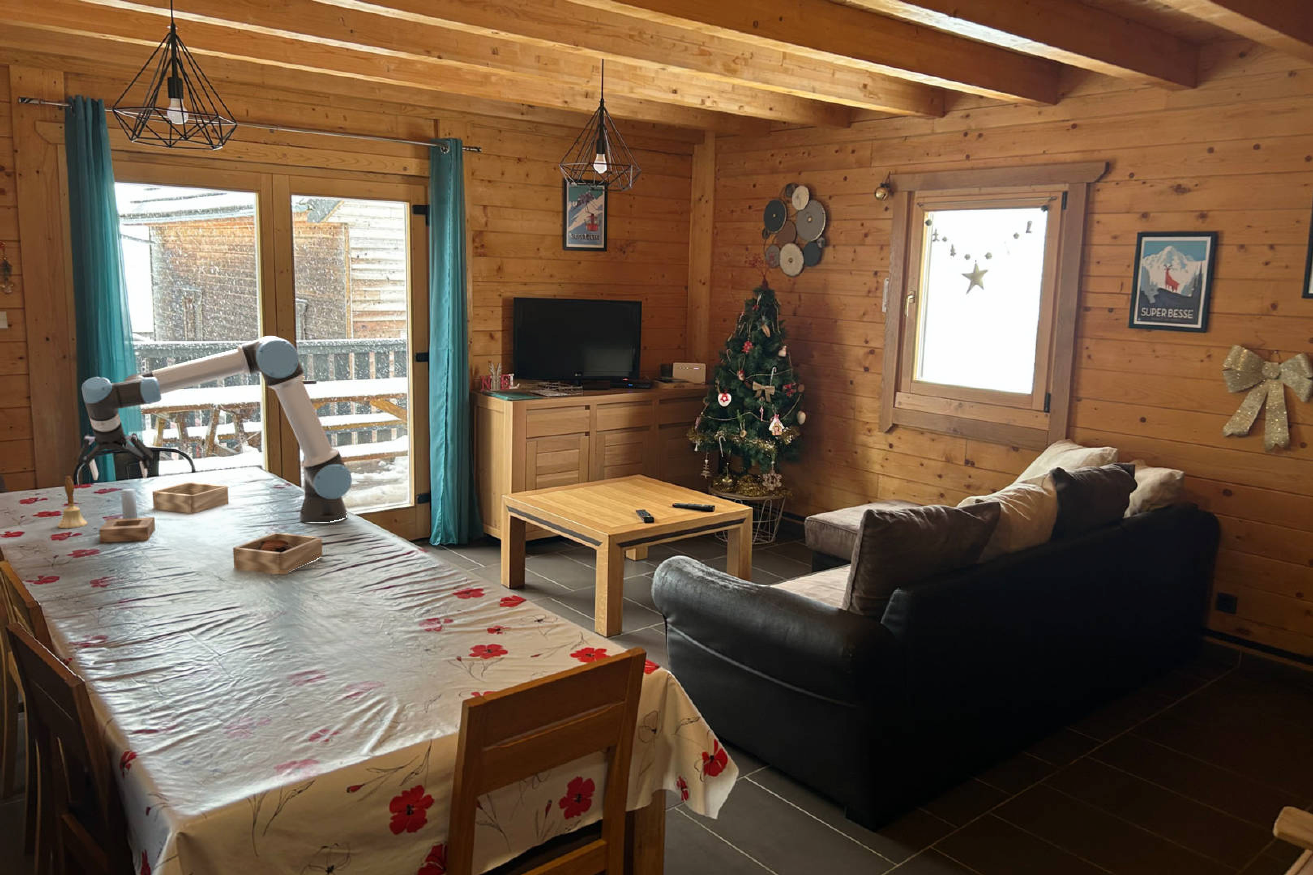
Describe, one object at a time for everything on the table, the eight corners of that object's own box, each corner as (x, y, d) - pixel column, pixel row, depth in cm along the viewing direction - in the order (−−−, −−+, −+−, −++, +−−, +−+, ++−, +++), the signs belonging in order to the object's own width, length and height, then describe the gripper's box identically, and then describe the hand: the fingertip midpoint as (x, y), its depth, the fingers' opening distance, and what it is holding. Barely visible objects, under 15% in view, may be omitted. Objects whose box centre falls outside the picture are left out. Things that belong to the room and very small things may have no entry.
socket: (155, 529, 308) (154, 517, 307) (148, 539, 295) (147, 527, 295) (109, 531, 303) (108, 519, 303) (100, 542, 291) (99, 529, 291)
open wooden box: (323, 557, 282) (323, 537, 281) (282, 575, 264) (282, 554, 263) (275, 551, 286) (275, 532, 285) (232, 569, 269) (231, 548, 268)
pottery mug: (247, 568, 271) (250, 540, 274) (272, 575, 279) (275, 547, 282) (280, 563, 267) (283, 534, 270) (305, 570, 275) (307, 542, 278)
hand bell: (77, 528, 306) (73, 479, 304) (51, 527, 306) (47, 478, 304) (93, 522, 314) (89, 474, 312) (68, 521, 314) (64, 473, 312)
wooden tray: (229, 502, 345) (228, 486, 344) (193, 513, 329) (193, 496, 328) (189, 498, 350) (188, 482, 349) (152, 508, 334) (151, 491, 333)
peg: (140, 525, 312) (138, 489, 310) (130, 528, 308) (128, 491, 306) (130, 524, 313) (128, 488, 311) (120, 527, 309) (118, 490, 307)
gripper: (55, 434, 277) (72, 486, 291) (151, 431, 284) (163, 482, 298) (61, 416, 282) (77, 469, 296) (155, 414, 289) (167, 466, 303)
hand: (121, 476), depth 297 cm, fingers open, 13 cm apart
